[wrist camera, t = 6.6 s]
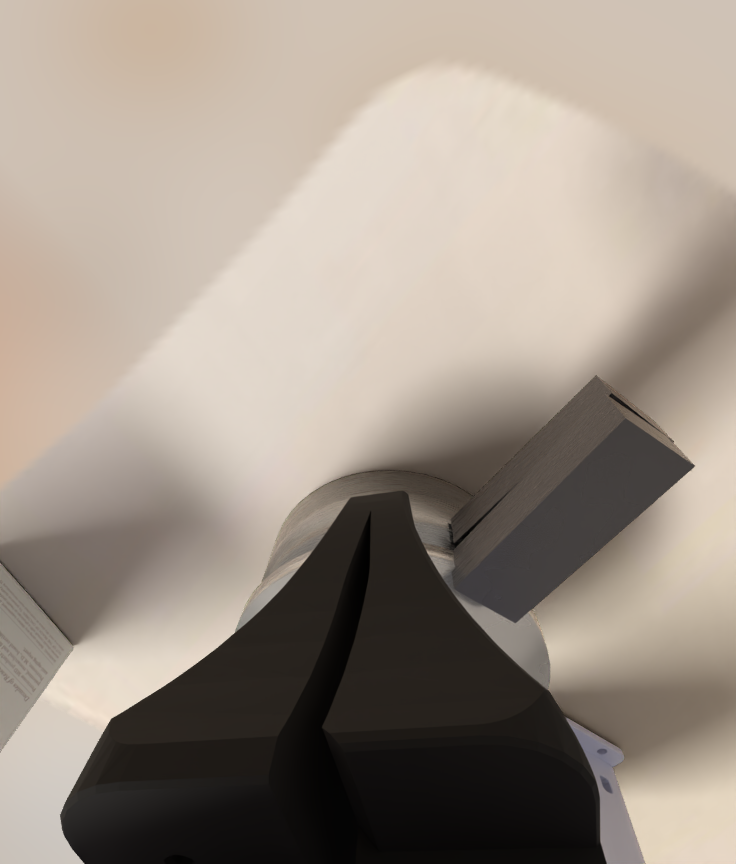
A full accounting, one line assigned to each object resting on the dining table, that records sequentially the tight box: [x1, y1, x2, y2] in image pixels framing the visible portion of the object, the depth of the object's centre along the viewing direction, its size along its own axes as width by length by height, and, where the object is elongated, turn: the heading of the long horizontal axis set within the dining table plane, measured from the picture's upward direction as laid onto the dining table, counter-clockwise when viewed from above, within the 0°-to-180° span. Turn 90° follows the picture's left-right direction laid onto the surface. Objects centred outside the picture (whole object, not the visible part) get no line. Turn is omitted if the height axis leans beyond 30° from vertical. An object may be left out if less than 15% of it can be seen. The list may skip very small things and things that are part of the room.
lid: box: [235, 393, 695, 690], centre depth 18 cm, size 18×12×2 cm, turn 147°
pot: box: [261, 376, 674, 583], centre depth 21 cm, size 11×18×4 cm, turn 145°
